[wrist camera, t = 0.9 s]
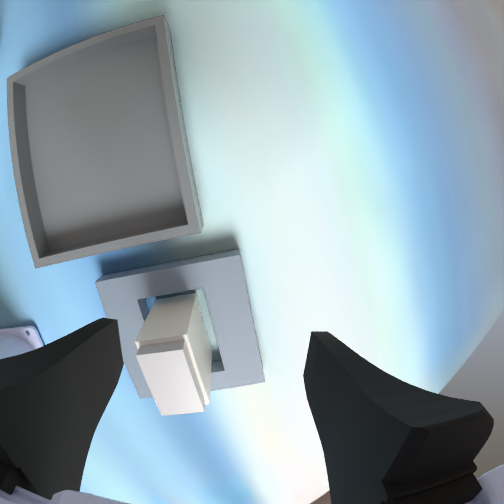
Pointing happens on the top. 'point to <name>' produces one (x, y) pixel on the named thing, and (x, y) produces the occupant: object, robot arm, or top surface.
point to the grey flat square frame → (219, 304)
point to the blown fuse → (176, 355)
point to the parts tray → (102, 146)
